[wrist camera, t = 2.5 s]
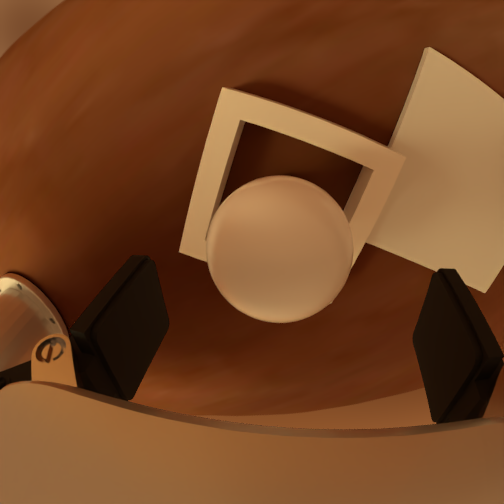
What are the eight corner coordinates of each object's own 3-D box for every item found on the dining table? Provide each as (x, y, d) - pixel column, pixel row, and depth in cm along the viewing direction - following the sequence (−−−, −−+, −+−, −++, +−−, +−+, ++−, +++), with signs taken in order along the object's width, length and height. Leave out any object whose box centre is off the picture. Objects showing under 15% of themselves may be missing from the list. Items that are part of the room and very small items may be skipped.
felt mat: (481, 288, 22) (485, 293, 21) (348, 231, 21) (350, 236, 20) (552, 149, 15) (557, 151, 14) (424, 48, 14) (429, 46, 13)
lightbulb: (225, 162, 20) (157, 235, 10) (319, 134, 18) (345, 182, 9) (256, 245, 23) (225, 362, 13) (343, 224, 21) (374, 337, 11)
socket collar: (328, 283, 23) (331, 303, 21) (190, 235, 23) (178, 252, 21) (394, 149, 18) (406, 157, 16) (231, 87, 18) (222, 87, 15)
